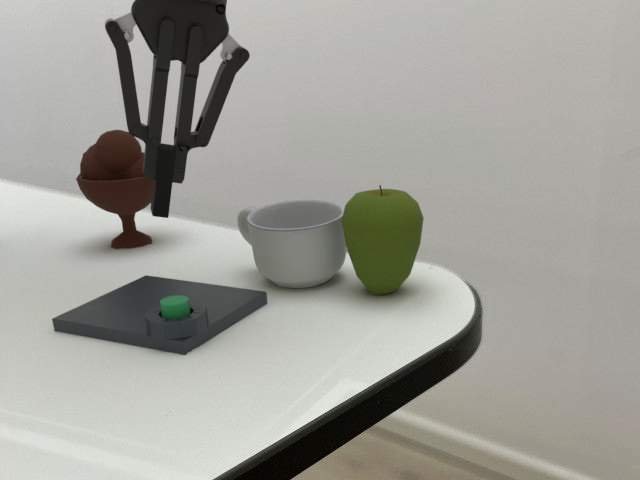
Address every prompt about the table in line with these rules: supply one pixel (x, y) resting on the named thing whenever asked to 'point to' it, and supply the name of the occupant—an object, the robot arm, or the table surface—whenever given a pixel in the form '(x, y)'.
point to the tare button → (175, 307)
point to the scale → (146, 318)
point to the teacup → (295, 240)
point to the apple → (382, 237)
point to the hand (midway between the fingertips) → (159, 212)
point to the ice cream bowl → (117, 183)
